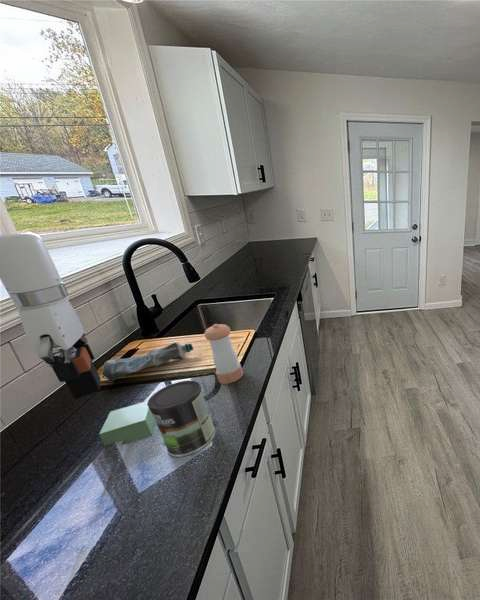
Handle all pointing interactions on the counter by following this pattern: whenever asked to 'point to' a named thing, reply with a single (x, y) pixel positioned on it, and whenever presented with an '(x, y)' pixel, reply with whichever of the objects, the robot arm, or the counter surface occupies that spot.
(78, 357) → the battery
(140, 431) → the block
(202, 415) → the coffee can
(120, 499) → the counter surface
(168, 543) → the counter surface
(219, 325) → the pepper shaker
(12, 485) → the counter surface
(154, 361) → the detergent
